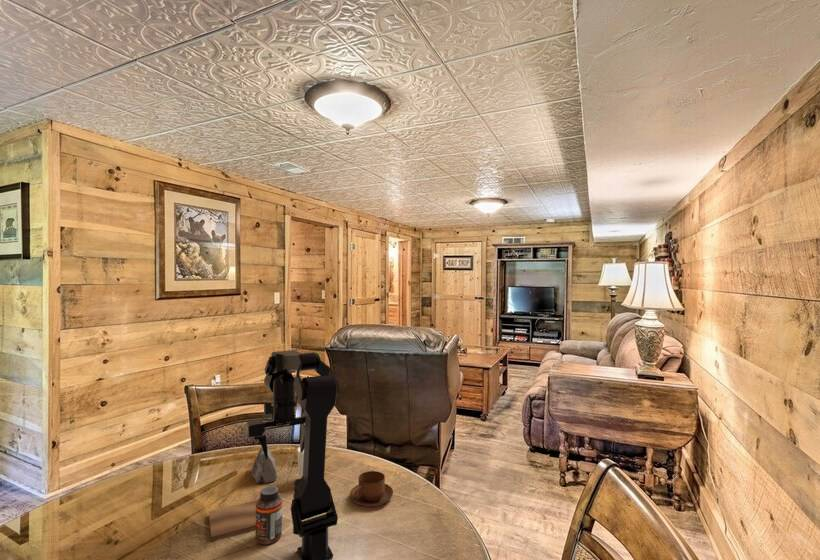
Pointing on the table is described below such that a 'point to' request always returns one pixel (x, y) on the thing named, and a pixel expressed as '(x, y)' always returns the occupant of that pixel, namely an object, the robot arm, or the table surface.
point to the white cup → (300, 462)
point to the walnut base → (232, 520)
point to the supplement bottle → (268, 516)
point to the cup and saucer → (371, 489)
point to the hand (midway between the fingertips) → (284, 455)
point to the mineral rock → (264, 468)
